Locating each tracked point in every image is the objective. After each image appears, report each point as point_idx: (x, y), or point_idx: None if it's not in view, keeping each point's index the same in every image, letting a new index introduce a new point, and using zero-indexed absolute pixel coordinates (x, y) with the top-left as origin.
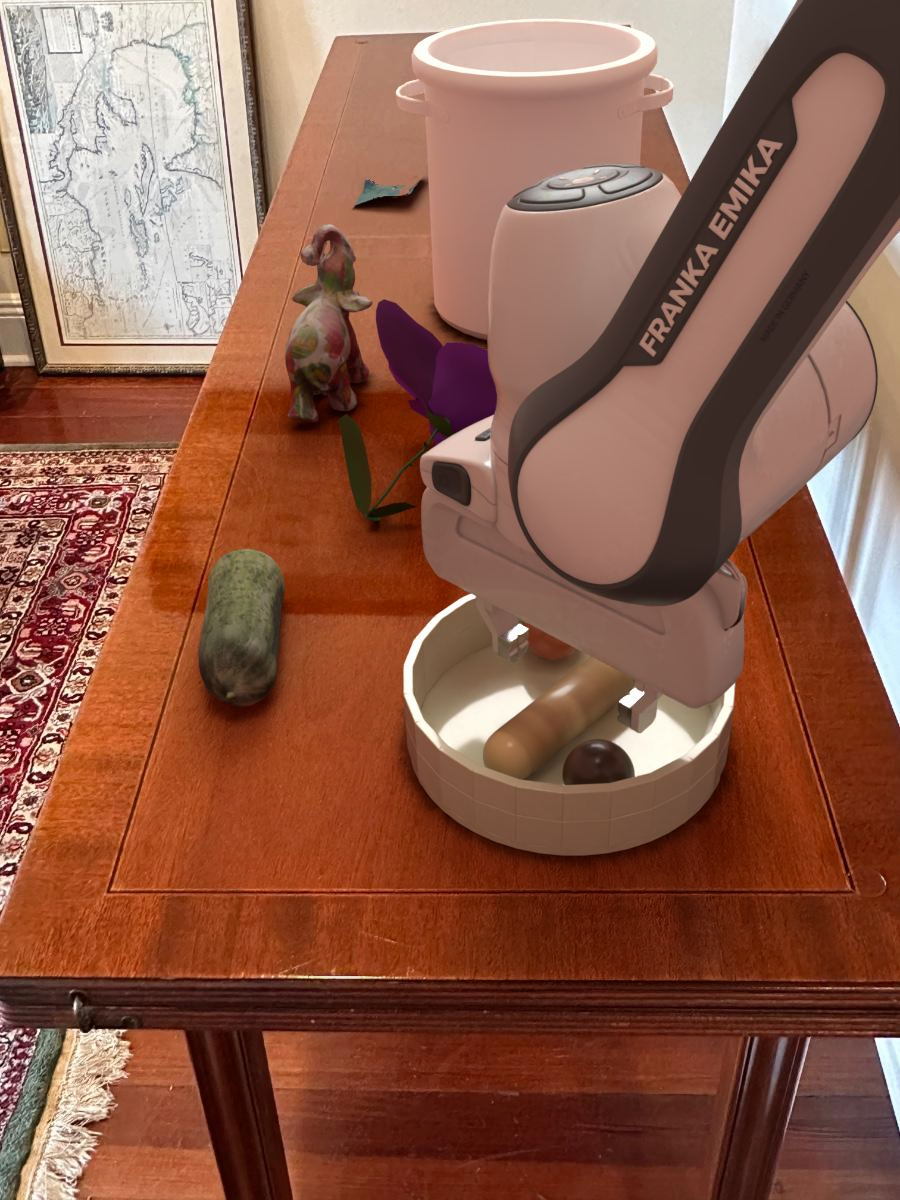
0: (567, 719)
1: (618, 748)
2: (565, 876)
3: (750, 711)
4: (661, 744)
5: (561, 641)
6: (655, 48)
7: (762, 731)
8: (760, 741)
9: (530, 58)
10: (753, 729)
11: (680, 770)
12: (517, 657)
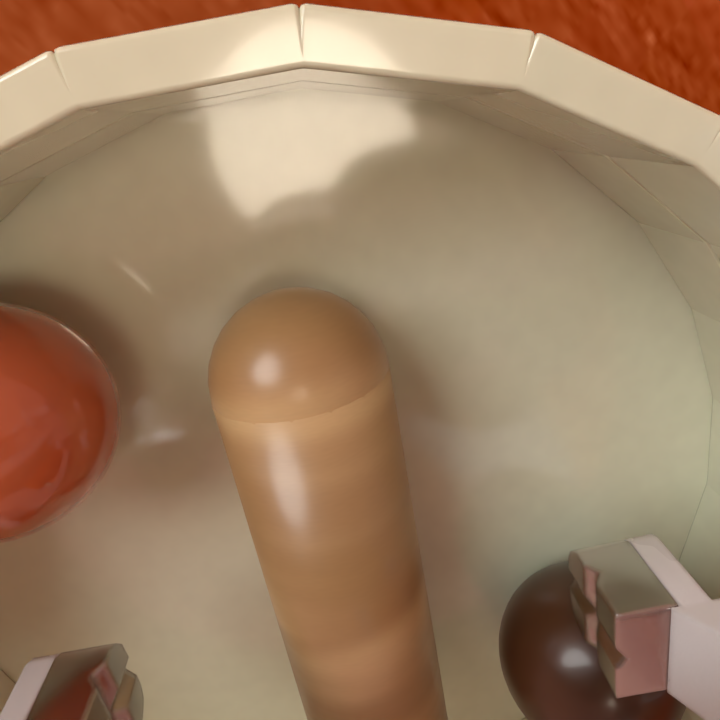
0: (423, 652)
1: None
2: None
3: (626, 23)
4: (548, 377)
5: (97, 475)
6: None
7: (701, 71)
8: (717, 113)
9: None
10: (675, 87)
11: None
12: (132, 682)
